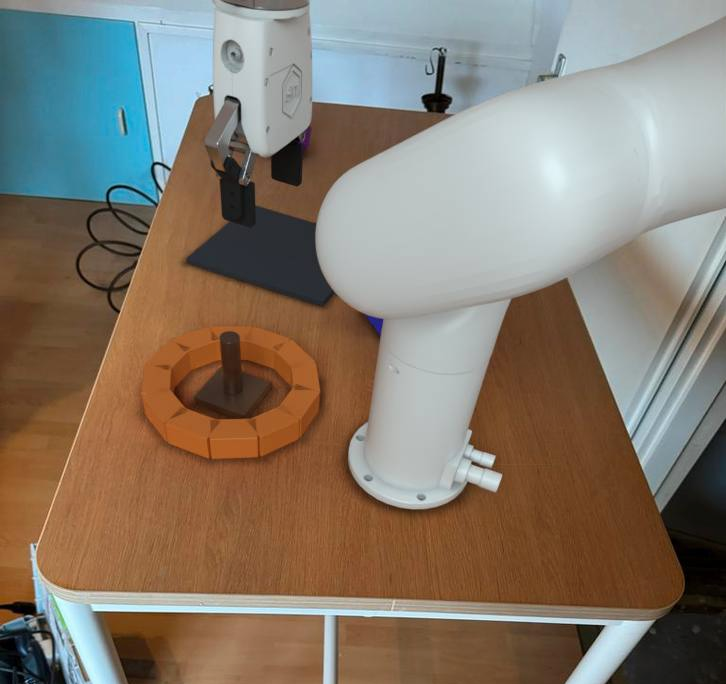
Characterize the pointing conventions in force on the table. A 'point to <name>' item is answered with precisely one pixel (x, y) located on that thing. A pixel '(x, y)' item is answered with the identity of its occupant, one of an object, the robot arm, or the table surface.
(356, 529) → the table surface
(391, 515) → the table surface
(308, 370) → the ring
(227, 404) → the stand
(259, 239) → the mat
